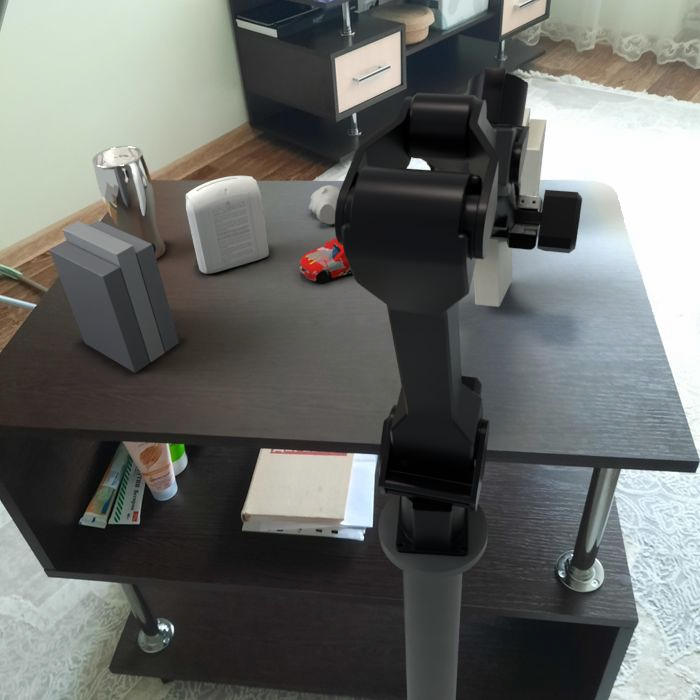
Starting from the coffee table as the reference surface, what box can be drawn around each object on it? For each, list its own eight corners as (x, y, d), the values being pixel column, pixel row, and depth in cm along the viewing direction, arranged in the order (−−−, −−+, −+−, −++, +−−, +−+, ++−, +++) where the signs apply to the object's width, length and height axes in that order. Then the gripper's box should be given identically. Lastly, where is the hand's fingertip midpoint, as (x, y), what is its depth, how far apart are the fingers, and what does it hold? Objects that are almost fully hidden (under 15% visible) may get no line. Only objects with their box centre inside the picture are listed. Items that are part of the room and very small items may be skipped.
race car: (307, 289, 96) (303, 263, 94) (294, 268, 100) (291, 243, 98) (399, 264, 99) (398, 238, 97) (383, 245, 103) (382, 220, 101)
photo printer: (263, 243, 106) (250, 164, 98) (274, 257, 103) (262, 176, 95) (195, 264, 103) (176, 184, 95) (204, 279, 100) (185, 197, 92)
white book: (499, 307, 87) (498, 205, 80) (474, 304, 89) (471, 203, 82) (512, 279, 93) (512, 181, 86) (489, 278, 94) (487, 181, 87)
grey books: (179, 343, 89) (150, 236, 79) (135, 373, 85) (98, 264, 75) (128, 315, 94) (94, 212, 85) (84, 343, 90) (44, 238, 81)
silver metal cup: (178, 245, 107) (154, 149, 97) (147, 270, 102) (119, 171, 93) (142, 236, 110) (115, 141, 100) (110, 259, 105) (79, 162, 96)
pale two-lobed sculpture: (316, 209, 115) (346, 199, 114) (312, 235, 109) (344, 224, 107) (305, 186, 113) (336, 175, 111) (300, 210, 106) (333, 199, 105)
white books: (530, 237, 102) (540, 138, 93) (481, 233, 104) (487, 135, 95) (537, 203, 110) (547, 108, 100) (492, 199, 111) (497, 106, 102)
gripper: (593, 121, 71) (584, 175, 86) (406, 112, 76) (428, 165, 91) (578, 233, 70) (571, 268, 85) (389, 216, 75) (414, 252, 90)
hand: (494, 235), depth 88 cm, fingers closed on white book, 3 cm apart
